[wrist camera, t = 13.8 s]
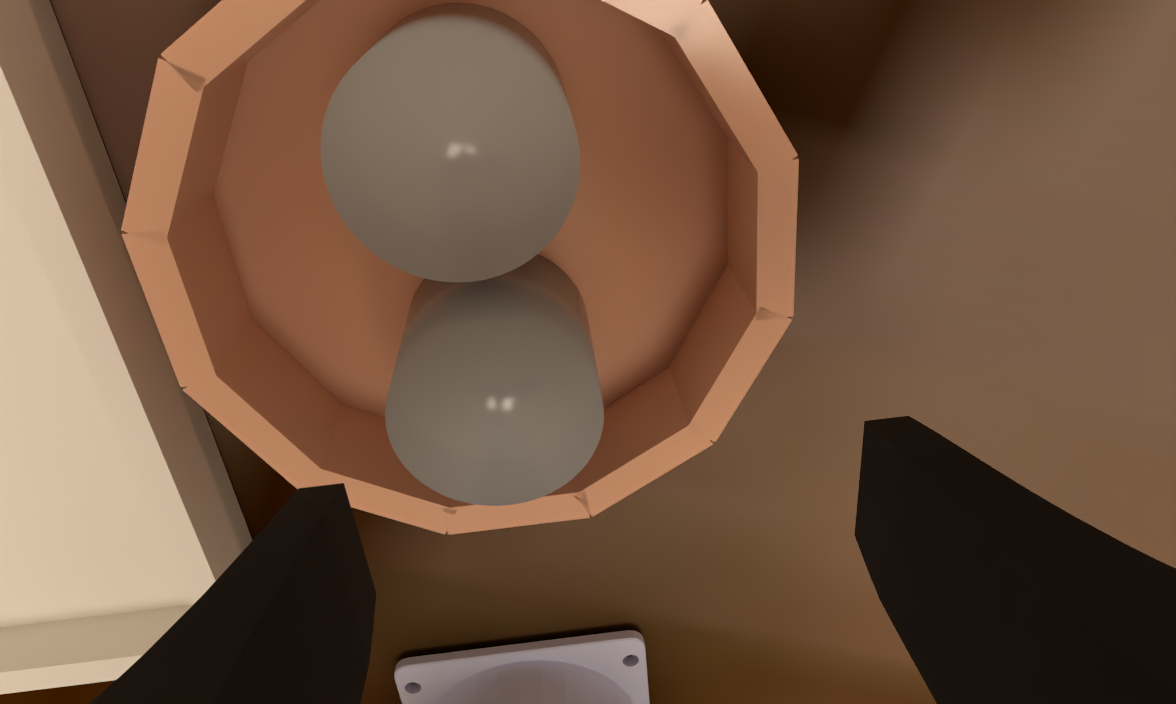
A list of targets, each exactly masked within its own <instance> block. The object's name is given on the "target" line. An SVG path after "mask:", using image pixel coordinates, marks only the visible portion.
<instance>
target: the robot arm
mask: <svg viewBox="0 0 1176 704" xmlns="http://www.w3.org/2000/svg"><path fill="white" fill-rule="evenodd" d="M855 537H856V540H857V542H858V545H859V548H860V550H861V553H862V556H863V558H864V561H865V564H866V566H867V569H868V572H869V574H870V576H871V579H872V581H873V584H874V586H875V589H876V591H877V594H878V596H879V599H880V601H881V602H882V604H883V606H884V608H885V610H886V612H887V614H888V616H889V617H890V619H891V621H892V623H893V625H894V627H895V628H896V630H897V632H898V634H899V636H900V638H901V639H902V641H903V643H904V645H905V647H906V649H907V650H908V652H909V654H910V656H911V658H912V659H913V661H914V663H915V665H916V667H917V668H918V670H919V672H920V674H921V676H922V677H923V679H924V681H925V683H926V685H927V686H928V688H929V690H930V692H931V694H932V695H933V697H934V699H935V701H936V703H937V704H1176V569H1175V568H1173V567H1171V566H1169V565H1167V564H1165V563H1163V562H1160V561H1158V560H1156V559H1154V558H1152V557H1150V556H1148V555H1146V554H1144V553H1142V552H1140V551H1138V550H1136V549H1134V548H1132V547H1130V546H1128V545H1126V544H1124V543H1122V542H1120V541H1119V540H1117V539H1115V538H1113V537H1111V536H1109V535H1108V534H1106V533H1104V532H1102V531H1100V530H1098V529H1096V528H1095V527H1093V526H1091V525H1089V524H1087V523H1085V522H1084V521H1082V520H1080V519H1078V518H1076V517H1074V516H1073V515H1071V514H1069V513H1067V512H1066V511H1064V510H1062V509H1060V508H1059V507H1057V506H1055V505H1053V504H1052V503H1050V502H1048V501H1047V500H1045V499H1043V498H1041V497H1040V496H1038V495H1036V494H1035V493H1033V492H1031V491H1030V490H1028V489H1026V488H1025V487H1023V486H1021V485H1020V484H1018V483H1016V482H1015V481H1013V480H1012V479H1010V478H1008V477H1007V476H1005V475H1003V474H1002V473H1000V472H999V471H997V470H995V469H994V468H992V467H991V466H989V465H987V464H986V463H984V462H983V461H981V460H979V459H978V458H976V457H975V456H973V455H972V454H970V453H968V452H967V451H965V450H964V449H962V448H960V447H959V446H957V445H956V444H954V443H952V442H951V441H949V440H948V439H946V438H945V437H943V436H941V435H940V434H938V433H937V432H935V431H933V430H932V429H930V428H928V427H927V426H925V425H923V424H922V423H920V422H918V421H916V420H915V419H913V418H911V417H909V416H904V417H895V418H887V419H879V420H870V421H865V424H864V435H863V446H862V458H861V469H860V480H859V492H858V503H857V515H856V526H855ZM375 599H376V591H375V588H374V585H373V581H372V578H371V574H370V571H369V568H368V564H367V561H366V557H365V554H364V551H363V547H362V544H361V540H360V537H359V533H358V530H357V527H356V523H355V520H354V516H353V513H352V510H351V506H350V503H349V499H348V496H347V492H346V489H345V486H344V483H340V484H331V485H323V486H314V487H306V488H299V489H298V490H297V491H296V492H295V493H294V494H293V495H292V496H291V497H290V499H289V500H288V501H287V502H286V503H285V504H284V505H283V506H282V507H281V509H280V510H279V511H278V512H277V513H276V514H275V515H274V516H273V518H272V519H271V520H270V521H269V522H268V523H267V524H266V526H265V527H264V528H263V529H262V530H261V531H260V532H259V534H258V535H257V536H256V537H255V538H254V539H253V540H252V541H251V543H250V544H249V545H248V546H247V547H246V548H245V549H244V551H243V552H242V553H241V554H240V555H239V556H238V557H237V558H236V559H235V560H234V561H233V563H232V564H231V565H230V566H229V567H228V568H227V569H226V570H225V571H224V572H223V574H222V575H221V576H220V577H219V578H218V579H217V580H216V581H215V582H214V583H213V585H212V586H211V587H210V588H209V589H208V590H207V591H206V592H205V593H204V594H203V595H202V596H201V597H200V598H199V599H198V600H197V601H196V602H195V603H194V605H193V606H192V607H191V608H190V609H189V610H188V611H187V612H186V613H185V614H184V615H183V616H182V617H181V618H180V619H179V620H178V621H177V622H176V623H175V624H174V625H173V626H172V627H171V628H170V629H169V630H168V631H167V632H166V633H165V634H164V635H163V636H162V637H161V638H160V639H159V640H158V641H157V642H156V643H155V644H154V645H153V646H152V647H151V648H150V649H149V650H148V651H147V652H146V653H145V654H144V655H143V656H142V657H141V658H139V659H138V660H137V661H136V662H135V663H134V664H133V665H132V666H131V667H130V668H129V669H128V670H127V671H126V672H124V673H123V674H122V675H121V676H120V677H119V678H118V679H117V680H116V681H115V682H113V683H112V684H111V685H110V686H109V687H108V688H107V689H106V690H105V691H103V692H102V693H101V694H100V695H99V696H98V697H96V698H95V699H94V700H93V701H92V702H91V703H89V704H360V702H361V697H362V693H363V689H364V684H365V680H366V675H367V670H368V666H369V660H370V651H371V642H372V633H373V622H374V611H375ZM629 655H633V656H630V657H627V656H629ZM394 678H395V682H396V685H397V688H398V692H399V695H400V699H401V702H402V704H650V702H649V689H648V677H647V664H646V652H645V643H644V639H643V636H642V635H641V634H640V633H639V632H637V631H634V630H625V631H617V632H609V633H601V634H593V635H585V636H577V637H569V638H561V639H553V640H545V641H536V642H528V643H520V644H512V645H504V646H496V647H488V648H480V649H472V650H464V651H456V652H448V653H440V654H432V655H424V656H416V657H408V658H404V659H402V660H400V661H399V662H398V663H397V665H396V667H395V673H394ZM411 682H415V683H411Z"/></svg>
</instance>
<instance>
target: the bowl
mask: <svg viewBox="0 0 1176 704" xmlns="http://www.w3.org/2000/svg"><path fill="white" fill-rule="evenodd" d="M460 2H462V3H471V4H478V5H482V6H486V7H490V8H493V9H495V10H497V11H500V12H502V13H505V14H506V15H508V16H510V17H512V18H513V19H515V20H517V21H518V22H519V23H521V24H522V25H523V26H525V27H526V28H527V29H529V30H530V31H531V32H532V33H533V34H534V35H535V36H536V37H537V38H538V39H539V40H540V42H541V43H542V44H543V46H544V47H545V48H546V49H547V51H548V52H549V54H550V56H551V57H552V59H553V61H554V62H555V64H556V67H557V69H558V71H559V73H560V76H561V79H562V82H563V86H564V89H565V93H566V96H567V100H568V104H569V107H570V111H571V114H572V118H573V122H574V125H575V129H576V132H577V137H578V143H579V149H580V174H579V183H578V188H577V192H576V196H575V200H574V202H573V205H572V207H571V210H570V212H569V215H568V216H567V218H566V220H565V222H564V224H563V225H562V227H561V229H560V230H559V231H558V233H557V234H556V235H555V237H554V238H553V239H552V241H551V242H550V243H549V244H548V245H547V246H546V247H545V248H544V249H543V250H542V251H541V252H540V253H538V255H540V256H543V257H544V258H546V259H548V260H549V261H551V262H553V263H554V264H555V265H557V266H558V267H559V268H560V269H562V270H563V271H564V272H565V273H566V274H567V275H568V276H569V277H570V279H571V280H572V281H573V283H574V284H575V285H576V287H577V288H578V290H579V292H580V294H581V296H582V298H583V301H584V304H585V307H586V311H587V316H588V321H589V327H590V333H591V338H592V344H593V349H594V355H595V361H596V366H597V372H598V378H599V383H600V389H601V395H602V400H603V407H604V422H603V430H602V434H601V437H600V441H599V443H598V445H597V448H596V450H595V452H594V454H593V455H592V457H591V459H590V460H589V462H588V463H587V464H586V465H585V467H584V468H583V469H582V470H581V471H580V472H579V473H578V474H577V475H576V476H575V477H574V478H573V479H572V480H570V481H569V482H568V483H566V484H565V485H564V486H562V487H561V488H559V489H557V490H555V491H554V492H552V493H550V494H547V495H545V496H543V497H540V498H538V499H535V500H531V501H528V502H524V503H519V504H514V505H503V506H485V505H476V504H470V503H466V502H461V501H458V500H455V499H452V498H449V497H446V496H444V495H442V494H440V493H438V492H436V491H434V490H432V489H431V488H429V487H427V486H426V485H424V484H423V483H422V482H420V481H419V480H418V479H416V478H415V477H414V476H413V475H412V474H411V473H410V472H409V471H408V470H407V469H406V468H405V466H404V465H403V464H402V462H401V461H400V460H399V458H398V457H397V455H396V453H395V451H394V450H393V448H392V445H391V443H390V440H389V437H388V434H387V429H386V423H385V408H386V399H387V395H388V391H389V388H390V384H391V380H392V376H393V372H394V368H395V364H396V360H397V356H398V352H399V348H400V344H401V340H402V336H403V332H404V328H405V324H406V320H407V316H408V312H409V308H410V305H411V301H412V299H413V296H414V294H415V292H416V290H417V288H418V287H419V285H420V284H421V282H422V281H423V280H424V278H422V277H418V276H415V275H412V274H409V273H407V272H405V271H402V270H400V269H398V268H396V267H394V266H392V265H390V264H389V263H387V262H385V261H384V260H382V259H380V258H379V257H378V256H376V255H375V254H374V253H372V252H371V251H370V250H369V249H367V248H366V247H365V246H364V245H363V244H362V243H361V242H360V241H359V240H358V239H357V238H356V237H355V236H354V235H353V233H352V232H351V231H350V230H349V228H348V227H347V226H346V225H345V223H344V222H343V220H342V218H341V217H340V215H339V214H338V212H337V210H336V208H335V206H334V204H333V202H332V200H331V198H330V195H329V193H328V190H327V186H326V183H325V180H324V176H323V170H322V164H321V149H320V143H321V132H322V125H323V121H324V117H325V113H326V110H327V107H328V105H329V102H330V100H331V97H332V95H333V93H334V91H335V90H336V88H337V86H338V85H339V83H340V81H341V80H342V78H343V77H344V76H345V75H346V73H347V72H348V71H349V70H350V68H351V67H352V66H353V65H354V64H355V63H356V62H357V61H358V60H359V59H360V58H361V57H362V56H363V55H364V54H365V53H366V52H367V51H368V50H369V49H370V48H371V47H372V46H373V45H374V44H375V43H376V42H377V41H378V40H379V39H380V38H381V37H383V36H384V35H385V34H386V33H387V32H388V31H389V30H390V29H391V28H392V27H393V26H394V25H395V24H396V23H398V22H399V21H401V20H402V19H404V18H405V17H407V16H408V15H410V14H412V13H414V12H416V11H418V10H420V9H424V8H427V7H430V6H433V5H438V4H444V3H460ZM161 55H162V57H159V58H158V62H157V66H156V71H155V75H154V80H153V85H152V89H151V94H150V99H149V103H148V108H147V112H146V117H145V122H144V126H143V131H142V136H141V140H140V145H139V149H138V154H137V159H136V163H135V168H134V173H133V177H132V182H131V186H130V191H129V196H128V200H127V205H126V210H125V214H124V219H123V223H122V228H121V230H122V231H124V233H122V234H121V235H122V237H123V240H124V242H125V245H126V248H127V250H128V253H129V255H130V258H131V260H132V263H133V266H134V268H135V271H136V273H137V276H138V279H139V281H140V284H141V286H142V289H143V292H144V294H145V297H146V299H147V302H148V305H149V307H150V310H151V312H152V315H153V317H154V320H155V323H156V325H157V328H158V330H159V333H160V336H161V338H162V341H163V343H164V346H165V349H166V351H167V354H168V356H169V359H170V362H171V364H172V367H173V369H174V372H175V374H176V377H177V380H178V382H179V385H180V387H184V389H183V391H184V392H185V393H186V394H188V395H189V396H190V397H191V398H192V399H193V400H195V401H196V402H197V403H198V404H199V405H200V406H202V407H203V408H204V409H205V410H206V411H207V412H209V413H210V414H211V415H212V416H213V417H214V418H215V419H217V420H218V421H219V422H220V423H221V424H222V425H224V426H225V427H226V428H227V429H228V430H229V431H231V432H232V433H233V434H234V435H235V436H236V437H238V438H239V439H240V440H241V441H242V442H243V443H244V444H246V445H247V446H248V447H249V448H250V449H251V450H253V451H254V452H255V453H256V454H257V455H258V456H260V457H261V458H262V459H263V460H264V461H265V462H267V463H268V464H269V465H270V466H271V467H272V468H273V469H275V470H276V471H277V472H278V473H279V474H280V475H282V476H283V477H284V478H285V479H286V480H287V481H289V482H290V483H291V484H292V485H293V486H294V487H296V488H297V489H299V488H306V487H314V486H323V485H331V484H340V483H344V486H345V489H346V492H347V496H348V499H349V503H350V506H351V507H353V508H356V509H359V510H363V511H366V512H370V513H373V514H376V515H380V516H383V517H387V518H390V519H394V520H397V521H400V522H404V523H407V524H411V525H414V526H417V527H421V528H424V529H428V530H431V531H435V532H438V533H441V534H445V533H446V531H448V535H451V534H459V533H467V532H476V531H484V530H492V529H500V528H509V527H517V526H525V525H534V524H542V523H550V522H558V521H567V520H575V519H583V518H590V517H589V513H590V514H591V515H592V516H595V515H596V514H598V513H600V512H601V511H603V510H605V509H606V508H608V507H610V506H611V505H613V504H615V503H616V502H618V501H620V500H621V499H623V498H625V497H626V496H628V495H630V494H631V493H633V492H635V491H636V490H638V489H640V488H641V487H643V486H645V485H646V484H648V483H650V482H651V481H653V480H655V479H656V478H658V477H660V476H661V475H663V474H665V473H666V472H668V471H670V470H671V469H673V468H675V467H676V466H678V465H680V464H681V463H683V462H685V461H686V460H688V459H690V458H691V457H693V456H694V455H696V454H698V453H699V452H701V451H703V450H704V449H706V448H708V447H709V446H711V445H713V443H712V441H714V442H716V440H717V439H718V437H719V436H720V434H721V433H722V431H723V429H724V428H725V426H726V425H727V423H728V421H729V420H730V418H731V417H732V415H733V413H734V412H735V410H736V409H737V407H738V405H739V404H740V402H741V401H742V399H743V397H744V396H745V394H746V393H747V391H748V389H749V388H750V386H751V385H752V383H753V382H754V380H755V378H756V377H757V375H758V374H759V372H760V370H761V369H762V367H763V366H764V364H765V362H766V361H767V359H768V358H769V356H770V354H771V353H772V351H773V350H774V348H775V346H776V345H777V343H778V342H779V340H780V339H781V337H782V335H783V334H784V332H785V331H786V329H787V327H788V326H789V324H790V323H791V321H792V318H791V317H792V316H793V313H794V284H795V256H796V227H797V199H798V170H799V159H798V158H797V157H796V156H798V155H797V153H796V151H795V149H794V148H793V146H792V144H791V143H790V141H789V139H788V137H787V136H786V134H785V132H784V130H783V129H782V127H781V125H780V124H779V122H778V120H777V118H776V117H775V115H774V113H773V111H772V110H771V108H770V106H769V105H768V103H767V101H766V99H765V98H764V96H763V94H762V93H761V91H760V89H759V87H758V86H757V84H756V82H755V80H754V79H753V77H752V75H751V74H750V72H749V70H748V68H747V67H746V65H745V63H744V61H743V60H742V58H741V56H740V55H739V53H738V51H737V49H736V48H735V46H734V44H733V43H732V41H731V39H730V37H729V36H728V34H727V32H726V30H725V29H724V27H723V25H722V24H721V22H720V20H719V18H718V17H717V15H716V13H715V11H714V10H713V8H712V6H711V5H710V3H709V1H708V0H222V1H220V2H219V3H218V4H217V5H216V6H215V7H214V8H212V9H211V10H210V11H209V12H208V13H207V14H206V15H205V16H203V17H202V18H201V19H200V20H199V21H198V22H197V23H195V24H194V25H193V26H192V27H191V28H190V29H189V30H187V31H186V32H185V33H184V34H183V35H182V36H181V37H179V38H178V39H177V40H176V41H175V42H174V43H173V44H171V45H170V46H169V47H168V48H167V49H166V50H165V51H164V52H162V53H161Z"/></svg>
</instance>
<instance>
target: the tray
mask: <svg viewBox="0 0 1176 704" xmlns="http://www.w3.org/2000/svg"><path fill="white" fill-rule="evenodd" d="M125 210H126V202H125V200H124V197H123V194H122V192H121V189H120V186H119V184H118V181H117V179H116V176H115V173H114V171H113V168H112V165H111V163H110V160H109V157H108V155H107V152H106V149H105V147H104V144H103V141H102V139H101V136H100V133H99V131H98V128H97V125H96V123H95V120H94V117H93V115H92V112H91V109H90V107H89V104H88V101H87V99H86V96H85V93H84V91H83V88H82V85H81V83H80V80H79V77H78V75H77V72H76V69H75V67H74V64H73V61H72V59H71V56H70V54H69V51H68V48H67V46H66V43H65V40H64V38H63V35H62V32H61V30H60V27H59V24H58V22H57V19H56V16H55V14H54V11H53V8H52V6H51V3H50V0H0V694H7V693H15V692H23V691H31V690H39V689H47V688H55V687H63V686H72V685H80V684H88V683H96V682H104V681H112V680H117V679H118V678H119V677H120V676H121V675H122V674H123V673H124V672H126V671H127V670H128V669H129V668H130V667H131V666H132V665H133V664H134V663H135V662H136V661H137V660H138V659H139V658H141V657H142V656H143V655H144V654H145V653H146V652H147V651H148V650H149V649H150V648H151V647H152V646H153V645H154V644H155V643H156V642H157V641H158V640H159V639H160V638H161V637H162V636H163V635H164V634H165V633H166V632H167V631H168V630H169V629H170V628H171V627H172V626H173V625H174V624H175V623H176V622H177V621H178V620H179V619H180V618H181V617H182V616H183V615H184V614H185V613H186V612H187V611H188V610H189V609H190V608H191V607H192V606H193V605H194V603H195V602H196V601H197V600H198V599H199V598H200V597H201V596H202V595H203V594H204V593H205V592H206V591H207V590H208V589H209V588H210V587H211V586H212V585H213V583H214V582H215V581H216V580H217V579H218V578H219V577H220V576H221V575H222V574H223V572H224V571H225V570H226V569H227V568H228V567H229V566H230V565H231V564H232V563H233V561H234V560H235V559H236V558H237V557H238V556H239V555H240V554H241V553H242V552H243V551H244V549H245V548H246V547H247V546H248V545H249V544H250V543H251V541H252V538H251V535H250V532H249V530H248V527H247V524H246V522H245V519H244V516H243V514H242V511H241V508H240V506H239V503H238V500H237V498H236V495H235V492H234V490H233V487H232V484H231V482H230V479H229V476H228V474H227V471H226V468H225V466H224V463H223V460H222V458H221V455H220V452H219V450H218V447H217V444H216V442H215V439H214V437H213V434H212V431H211V429H210V426H209V423H208V421H207V418H206V415H205V413H204V410H203V407H202V406H200V405H199V404H198V403H197V402H196V401H195V400H193V399H192V398H191V397H190V396H189V395H188V394H186V393H185V392H184V391H183V389H184V387H180V385H179V382H178V380H177V377H176V374H175V372H174V369H173V367H172V364H171V362H170V359H169V356H168V354H167V351H166V349H165V346H164V343H163V341H162V338H161V336H160V333H159V330H158V328H157V325H156V323H155V320H154V317H153V315H152V312H151V310H150V307H149V305H148V302H147V299H146V297H145V294H144V292H143V289H142V286H141V284H140V281H139V279H138V276H137V273H136V271H135V268H134V266H133V263H132V260H131V258H130V255H129V253H128V250H127V248H126V245H125V242H124V240H123V237H122V235H121V234H122V233H124V231H122V230H121V228H122V223H123V219H124V214H125Z"/></svg>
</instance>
